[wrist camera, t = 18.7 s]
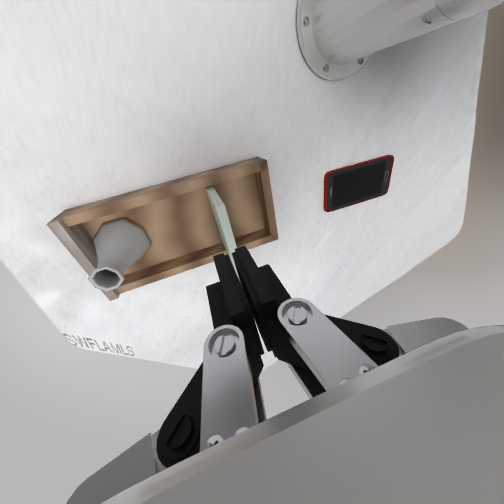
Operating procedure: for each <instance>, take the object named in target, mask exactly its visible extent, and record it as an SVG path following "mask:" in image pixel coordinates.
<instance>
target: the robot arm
mask: <svg viewBox="0 0 504 504" xmlns="http://www.w3.org/2000/svg"><path fill="white" fill-rule="evenodd" d="M503 2H504V0H298V6H297V33H298V40H299V44H300V48H301V51H302V54H303V56H304V58H305V60H306V62H307V64H308V65H309V67H310V68H311V69H312V71H314V72H315V73H316V74H317V75H318V76H320V77H322V78H324V79H327V80H340V79H343V78H347V77H349V76H351V75H353V74H354V73H356V72H357V71H358V70H359V69H361V67H362V66H363V65H364V64H365V63H366V62H367V61H368V59H369V58H370V56H371V55H372V54H373V53H375V52H378V51H381V50H383V49H386V48H389V47H391V46H394V45H397V44H399V43H402V42H405V41H407V40H410V39H413V38H415V37H418V36H421V35H423V34H426V33H429V32H431V31H434V30H437V29H439V28H442V27H445V26H447V25H450V24H453V23H455V22H458V21H461V20H463V19H466V18H469V17H472V16H474V15H477V14H479V13H482V12H485V11H487V10H489V9H491V8H493V7H495V6H498V5H499V4H501V3H503ZM303 23H304V25H303ZM323 69H324V70H323ZM232 257H233V260H234V263H235V266H236V270H237V273H238V276H239V278H238V276H237V274H236V271H235V269H234V266H233V264H232V262H231V259H230V257H229V254H227V255H224V253H221V254H218V255H215V256H213V259H214V262H215V265H216V269H217V272H218V276H219V279H220V282H217V283H214V284H212V285H209V286H206V290H207V295H208V300H209V305H210V311H211V316H212V321H213V326H214V330H213V331H212V332H211V333H210V334H209V335H208V337H207V339H206V341H205V344H204V355H203V363H202V364H201V366H200V367H199V369H198V370H197V372H196V373H195V375H194V376H193V378H192V379H191V381H190V383H189V384H188V386H187V387H186V389H185V390H184V392H183V393H182V395H181V396H180V398H179V399H178V401H177V403H176V404H175V405H174V407H173V409H172V410H171V412H170V413H169V415H168V416H167V418H166V420H165V421H164V423H163V425H162V427H161V428H160V430H158V431H157V432H156V433H154V434H152V433H149V434H148V435H146V436H145V437H144V438H142V439H141V440H140V441H138V442H137V443H135V444H134V445H133V446H131V447H130V448H129V449H127V450H126V451H124V452H123V453H122V454H120V455H119V456H118V457H116V458H115V459H114V460H112V461H111V462H109V463H108V464H107V465H105V466H104V467H102V468H101V469H100V470H98V471H97V472H96V473H94V474H93V475H91V476H90V477H89V478H87V479H86V480H85V481H84V482H83V483H82V484H81V485H80V486H79V487H78V488H77V489H76V490H75V492H74V493H73V495H72V496H71V497H70V498H69V500H68V502H67V504H504V325H494V326H482V327H476V328H471V329H468V328H467V327H465V326H464V325H463V324H461V323H459V322H457V321H454V320H452V319H447V318H432V319H426V320H420V321H415V322H409V323H403V324H398V325H392V326H387V327H386V329H384V330H381V329H378V328H376V327H372V326H368V325H364V324H360V323H356V322H352V321H348V320H344V319H340V318H336V317H332V316H328V315H324V314H323V313H322V312H321V311H320V310H319V309H318V308H317V307H316V306H314V305H313V304H312V303H311V302H310V301H308V300H305V299H303V298H291V297H290V295H289V294H288V292H287V291H286V289H285V288H284V286H283V285H282V283H281V282H280V280H279V279H278V277H277V276H276V274H275V273H274V272H273V270H272V269H271V267H270V266H269V265H268V264H267V265H264V266H261V267H259V268H258V267H257V265H256V263H255V262H254V260H253V258H252V256H251V255H250V253H249V251H248V250H247V248H246V246H242V247H239V248H236V249H235V252H233V253H232ZM239 279H240V281H239ZM255 322H256V324H257V327H258V329H259V332H260V334H261V337H262V339H263V341H264V344H265V346H266V349H267V351H268V352H269V351H273V354H274V356H275V357H277V358H278V359H279V360H281V361H284V362H286V363H287V364H288V366H289V368H290V369H291V371H292V372H293V374H294V375H295V377H296V378H297V380H298V381H299V383H300V384H301V386H302V387H303V389H304V390H305V392H306V394H307V395H308V397H309V398H310V399H309V400H307V401H305V402H303V403H301V404H299V405H297V406H295V407H293V408H291V409H288V410H287V411H284V412H282V413H280V414H278V415H276V416H274V417H272V418H270V419H268V420H267V419H266V413H265V407H264V401H263V396H262V391H261V385H260V380H259V375H260V373H261V371H262V368H263V366H264V365H263V362H262V359H261V356H260V355H262V354H264V351H263V347H262V344H261V341H260V337H259V334H258V330H257V327H256V324H255Z"/></svg>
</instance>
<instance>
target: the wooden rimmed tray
mask: <svg viewBox="0 0 504 504" xmlns="http://www.w3.org/2000/svg"><path fill="white" fill-rule="evenodd" d="M211 185H212V186H213V187H214V189H215V191H216V192H217V194H218V195H219V197H220V198H221V200H222V202H223V203H224V205H225V208H226V211H227V215H228V218H229V222H230V225H231V229H232V232H233V236H234V239H235V243H236V246H237V248H239V247H242V246H246V248H247V250H248V249H251V248H254V247H257V246H260V245H263V244H265V243H268V242H271V241H274V240H277V239H278V233H277V226H276V220H275V213H274V206H273V199H272V192H271V185H270V178H269V172H268V165H267V160H265V159H262V158H259V157H256V158H252V159H249V160H245V161H241V162H238V163H234V164H231V165H227V166H223V167H220V168H216V169H212V170H209V171H205V172H202V173H198V174H194V175H191V176H187V177H183V178H180V179H176V180H173V181H169V182H165V183H162V184H158V185H154V186H151V187H147V188H144V189H140V190H136V191H133V192H129V193H126V194H122V195H118V196H115V197H111V198H107V199H104V200H100V201H97V202H93V203H89V204H86V205H82V206H78V207H75V208H71V209H68V210H65V211H63V212H62V213H61V214H59V215H58V216H57V217H55V218H54V219H53V220H51V221H50V222H49V223H47V226H48V227H49V228H50V229H51V230H52V232H53V233H54V234H55V235H56V236H57V238H58V239H59V240H60V241H61V242H62V244H63V245H64V246H65V247H66V248H67V250H68V251H69V252H70V253H71V254H72V256H73V257H74V258H75V259H76V260H77V262H78V263H79V264H80V265H81V266H82V268H83V269H84V270H85V271H86V272H87V274H88V275H89V276H90V275H91V273H92V272H93V270H94V269H95V268H97V266H98V257H97V252H96V248H95V245H94V241H93V238H94V236H95V234H96V233H97V231H98V229H99V228H100V226H101V225H102V223H104V222H108V221H111V220H115V219H118V218H121V217H125V218H127V219H128V220H130V221H132V222H134V223H136V224H138V225H140V226H142V227H144V229H145V231H146V233H147V235H148V237H149V238H150V240H151V242H152V244H151V246H150V247H149V249H148V250H147V251H146V253H145V254H144V256H143V257H142V258H140V259H139V260H137V261H136V262H134V263H133V264H132V265H130V266H129V267H128V268H127V269H125V271H124V273H123V276H124V281H123V282H122V283H121V285H120V286H119V288H116V289H113V290H110V291H104V290H101V291H102V292H103V293H104V294H105V295H106V297H107V298H108V299H109V300H110V301H111V300H114V299H117V298H119V295H120V293H123V292H126V291H129V290H132V289H135V288H138V287H141V286H144V285H147V284H149V283H152V282H155V281H158V280H161V279H164V278H167V277H170V276H173V275H176V274H178V273H181V272H184V271H187V270H190V269H193V268H196V267H199V266H202V265H205V264H207V263H210V262H213V261H214V259H213V256H215V255H218V254H221V253H224V255H227V251H226V249H225V247H224V244H223V242H222V239H221V236H220V232H219V229H218V226H217V223H216V220H215V217H214V214H213V211H212V208H211V205H210V202H209V198H208V195H207V192H206V189H205V187H208V186H211Z"/></svg>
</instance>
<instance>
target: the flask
mask: <svg viewBox="0 0 504 504" xmlns="http://www.w3.org/2000/svg"><path fill="white" fill-rule="evenodd" d="M93 241H94V245H95V248H96V252H97V257H98V266H97V268H95V269H94V270H93V272H92V273H91V275H90V277H89V278H88V280H89V281H90V282H91V283H92V284H93V286H94V287H95V288H98V289H101V290H104V291H110V290H113V289H116V288H119V286H120V285H121V283H122V282H123V281H124V276H123V273H124V271H125V269H127V268H128V267H129V266H130V265H132V264H133V263H134V262H136V261H137V260H139V259H140V258H142V257H143V256H144V254H145V253H146V251H147V250H148V249H149V247H150V246H151V244H152V242H151V240H150V238H149V237H148V235H147V233H146V231H145V229H144V227H142V226H140V225H138V224H136V223H134V222H132V221H130V220H128V219H127V218H125V217H121V218H118V219H115V220H111V221H108V222H104V223H102V225H101V226H100V228H99V229H98V231H97V233H96V234H95V236H94V238H93Z"/></svg>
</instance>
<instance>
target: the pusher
mask: <svg viewBox="0 0 504 504" xmlns="http://www.w3.org/2000/svg"><path fill="white" fill-rule="evenodd" d="M205 189H206V192H207V195H208V198H209V202H210V205H211V208H212V211H213V214H214V217H215V220H216V223H217V226H218V229H219V232H220V236H221V239H222V242H223V244H224V247H225V249H226V251H227V254H229V257H230V259H231V262H232V264H233V266H234V269H235V271H236V274H237V276H238V273H237V270H236V266H235V263H234V260H233V257H232V253H233V252H235V249H236V248H237V246H236V243H235V239H234V236H233V232H232V229H231V225H230V222H229V218H228V215H227V211H226V208H225V205H224V203H223V202H222V200H221V198H220V197H219V195H218V194H217V192H216V191H215V189H214V187H213V186H212V185H211V186H208V187H205ZM238 278H239V276H238Z"/></svg>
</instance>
